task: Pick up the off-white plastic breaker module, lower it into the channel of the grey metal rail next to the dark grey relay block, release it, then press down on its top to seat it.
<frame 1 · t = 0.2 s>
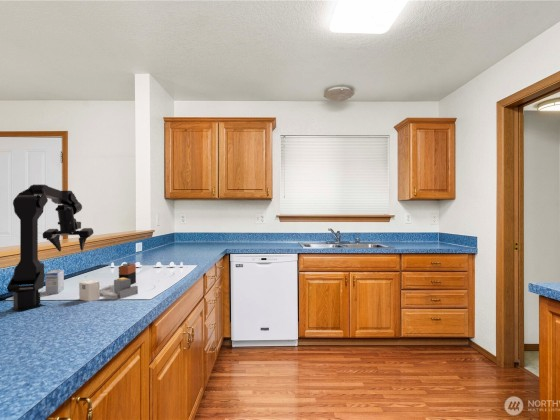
hand: (71, 250, 143), 15 cm above the worktop, tool pointing down, fingers open, 9 cm apart
battery: (127, 286, 139), on the worktop
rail: (115, 294, 124), on the worktop
relay block: (122, 294, 122), point 1 cm above the worktop, touching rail
medicine box: (55, 292, 131), on the worktop
module: (89, 300, 117), on the worktop
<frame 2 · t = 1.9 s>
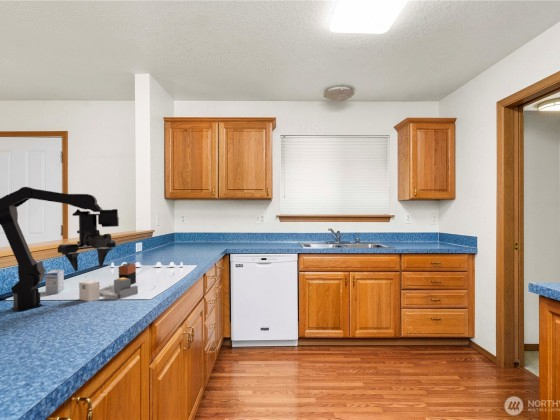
hand: (88, 268, 117), 12 cm above the worktop, tool pointing down, fingers open, 9 cm apart
nothing on the worktop moved.
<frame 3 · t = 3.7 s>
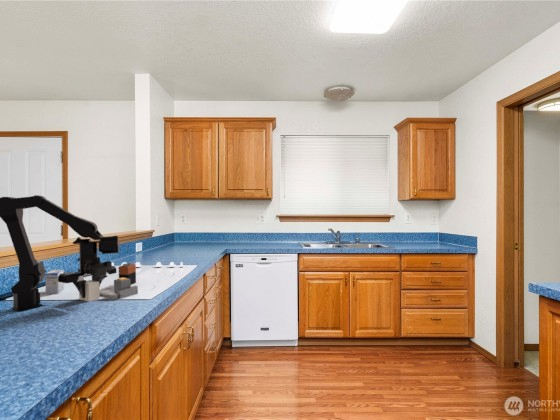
hand: (89, 296, 117), 2 cm above the worktop, tool pointing down, fingers closed on module, 4 cm apart
module: (89, 300, 117), on the worktop, touching gripper
everything else where it was.
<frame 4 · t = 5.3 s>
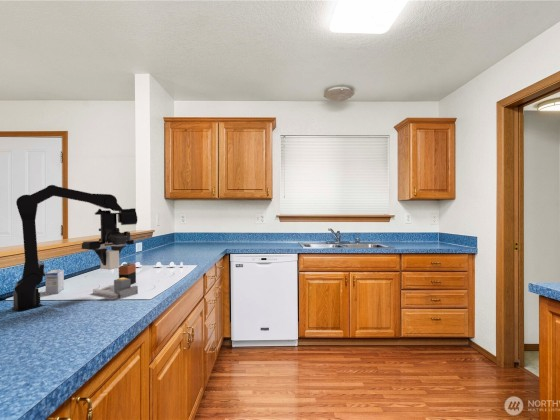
hand: (109, 264, 126), 12 cm above the worktop, tool pointing down, fingers closed on module, 4 cm apart
module: (110, 268, 126), point 10 cm above the worktop, touching gripper
everything else where it was.
when the fingers open (3 cm above the worktop, at t = 7.2 s): module drops 1 cm, resting on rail.
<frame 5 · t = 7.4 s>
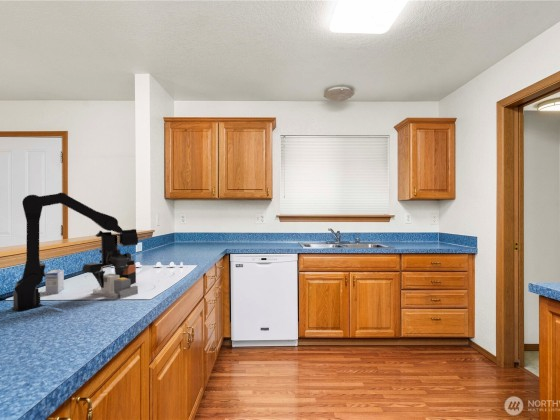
hand: (110, 285, 126), 3 cm above the worktop, tool pointing down, fingers open, 6 cm apart
module: (110, 292, 126), point 1 cm above the worktop, touching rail
everything else where it was.
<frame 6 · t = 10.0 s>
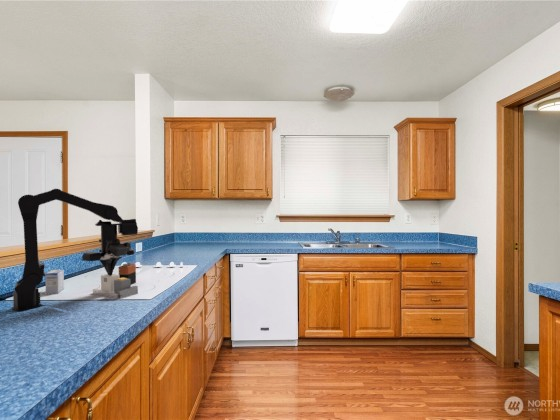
hand: (110, 275, 126), 8 cm above the worktop, tool pointing down, fingers closed, pressing on module
module: (110, 292, 126), point 1 cm above the worktop, touching gripper, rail
everything else where it was.
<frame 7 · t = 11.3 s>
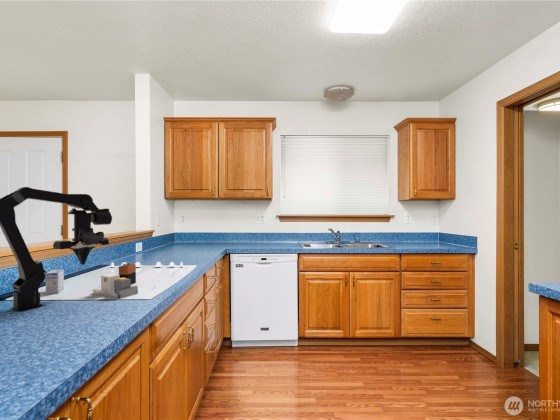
hand: (82, 264, 125), 12 cm above the worktop, tool pointing down, fingers closed
module: (110, 292, 126), point 1 cm above the worktop, touching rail
everything else where it was.
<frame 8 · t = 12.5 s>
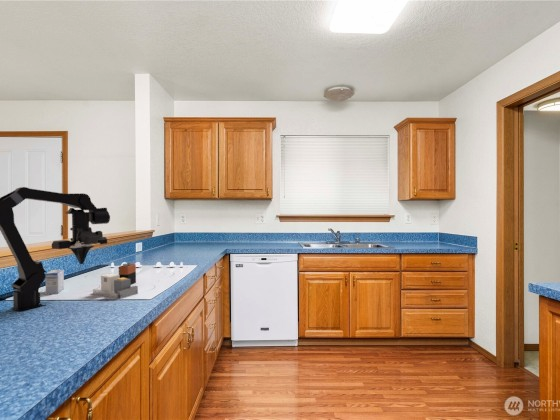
hand: (81, 264, 125), 13 cm above the worktop, tool pointing down, fingers closed
nothing on the worktop moved.
at the end: module inside the target area (0.2 cm from its centre), point 0.6 cm above the worktop; module tilted 0°; the gripper is holding nothing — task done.
